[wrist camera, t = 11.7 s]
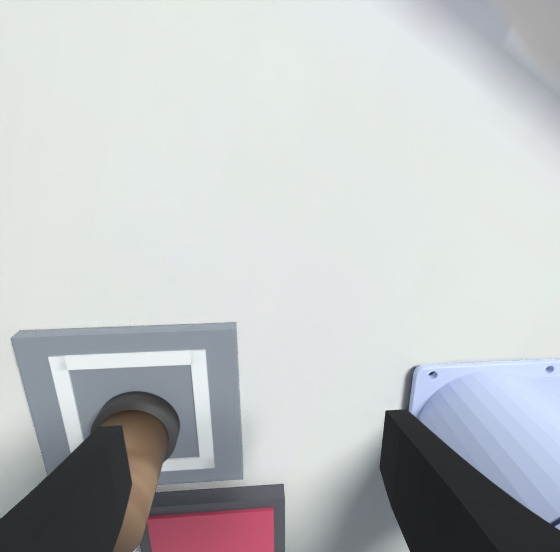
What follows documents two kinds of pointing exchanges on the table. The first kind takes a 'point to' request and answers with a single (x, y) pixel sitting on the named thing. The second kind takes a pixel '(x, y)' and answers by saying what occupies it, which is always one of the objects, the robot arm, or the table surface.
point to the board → (138, 389)
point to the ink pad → (217, 520)
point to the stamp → (141, 453)
